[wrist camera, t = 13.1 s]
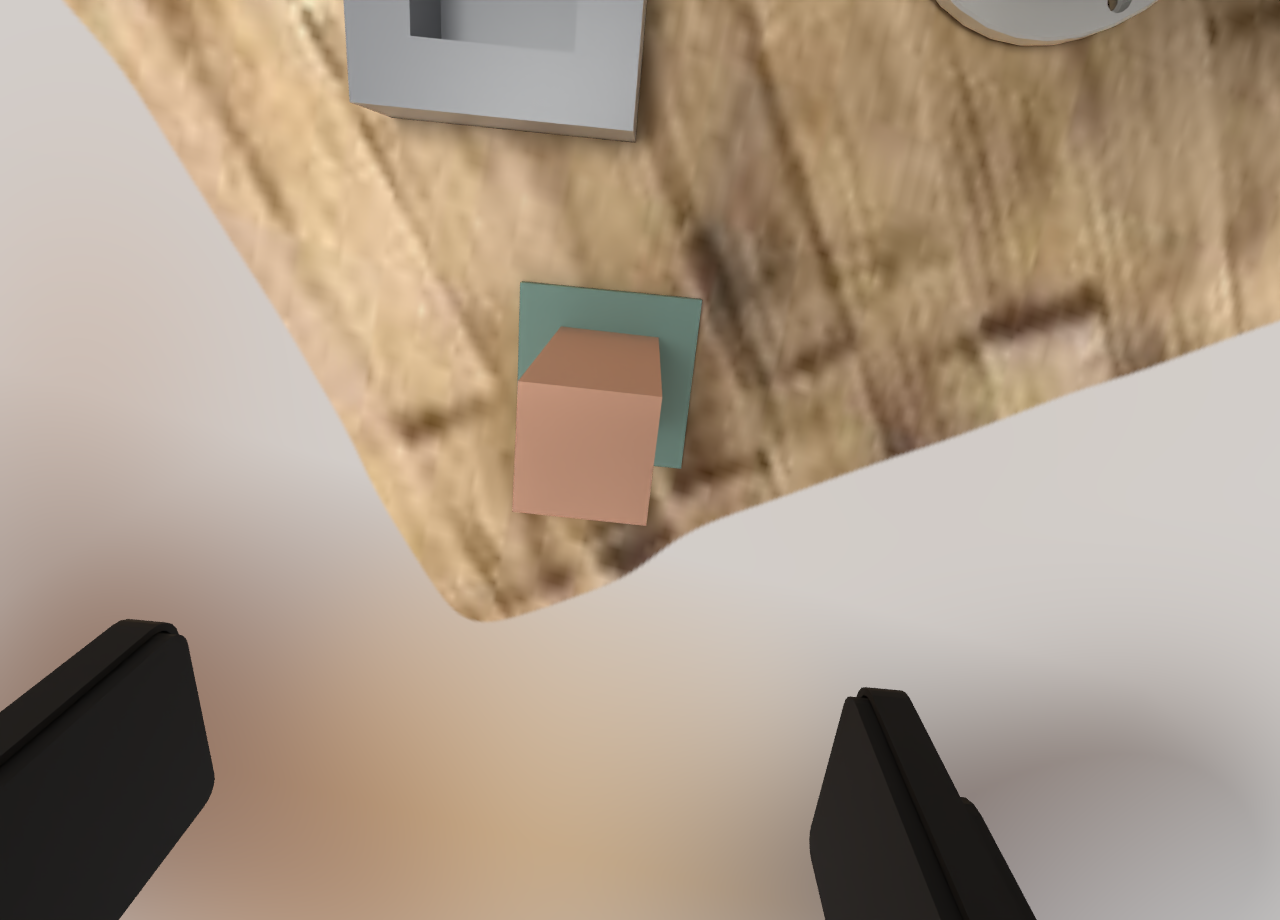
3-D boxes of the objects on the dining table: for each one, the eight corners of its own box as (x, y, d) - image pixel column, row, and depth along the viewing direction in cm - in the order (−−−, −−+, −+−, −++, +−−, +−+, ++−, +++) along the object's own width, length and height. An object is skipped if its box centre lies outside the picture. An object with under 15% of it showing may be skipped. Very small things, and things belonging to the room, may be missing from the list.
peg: (658, 337, 29) (662, 397, 20) (647, 430, 31) (646, 525, 21) (560, 326, 29) (518, 381, 20) (554, 419, 30) (512, 511, 21)
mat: (701, 298, 29) (702, 300, 28) (680, 464, 32) (680, 468, 31) (522, 281, 29) (520, 282, 28) (517, 449, 32) (515, 453, 31)
